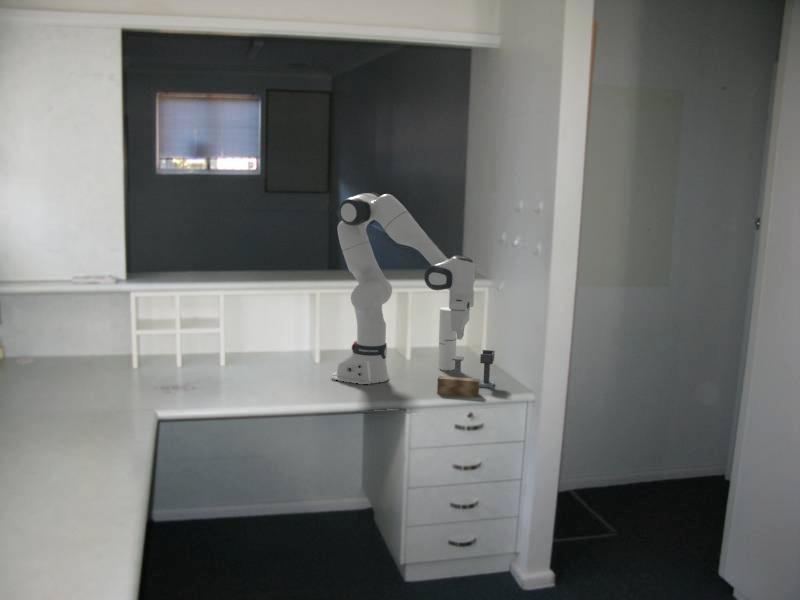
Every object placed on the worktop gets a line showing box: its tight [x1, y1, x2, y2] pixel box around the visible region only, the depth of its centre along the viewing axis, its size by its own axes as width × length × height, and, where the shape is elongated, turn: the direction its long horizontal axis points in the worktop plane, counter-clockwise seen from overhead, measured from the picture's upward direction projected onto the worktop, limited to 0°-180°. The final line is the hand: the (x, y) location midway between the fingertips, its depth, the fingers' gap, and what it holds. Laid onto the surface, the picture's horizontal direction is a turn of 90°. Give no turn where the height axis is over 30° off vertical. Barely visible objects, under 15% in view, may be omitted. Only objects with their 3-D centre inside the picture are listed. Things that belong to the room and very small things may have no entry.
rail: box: [436, 375, 481, 398], centre depth 295 cm, size 15×4×6 cm, turn 77°
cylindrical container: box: [437, 306, 457, 371], centre depth 328 cm, size 7×7×25 cm
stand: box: [452, 349, 495, 389], centre depth 307 cm, size 18×7×13 cm, turn 77°
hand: (460, 338), depth 291 cm, fingers closed
